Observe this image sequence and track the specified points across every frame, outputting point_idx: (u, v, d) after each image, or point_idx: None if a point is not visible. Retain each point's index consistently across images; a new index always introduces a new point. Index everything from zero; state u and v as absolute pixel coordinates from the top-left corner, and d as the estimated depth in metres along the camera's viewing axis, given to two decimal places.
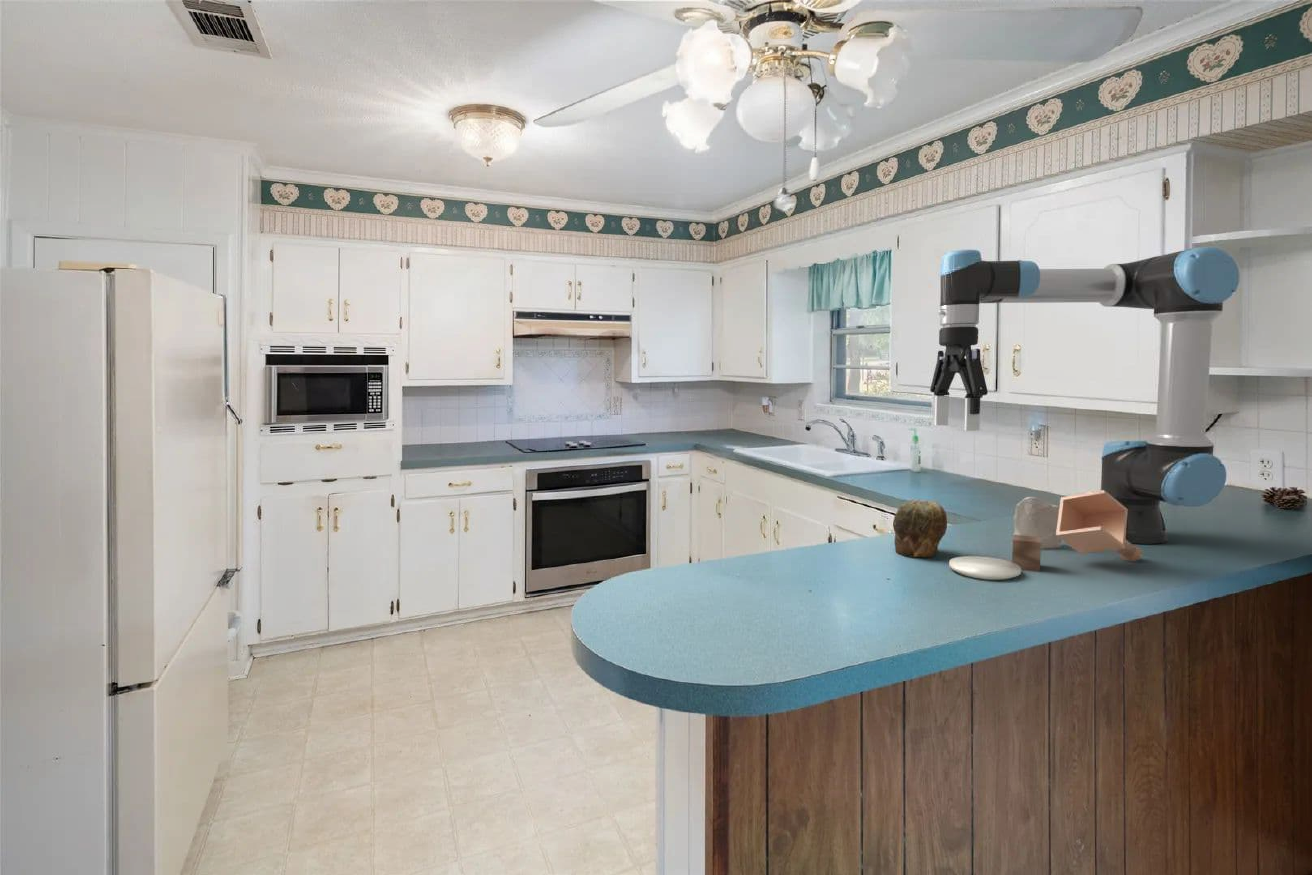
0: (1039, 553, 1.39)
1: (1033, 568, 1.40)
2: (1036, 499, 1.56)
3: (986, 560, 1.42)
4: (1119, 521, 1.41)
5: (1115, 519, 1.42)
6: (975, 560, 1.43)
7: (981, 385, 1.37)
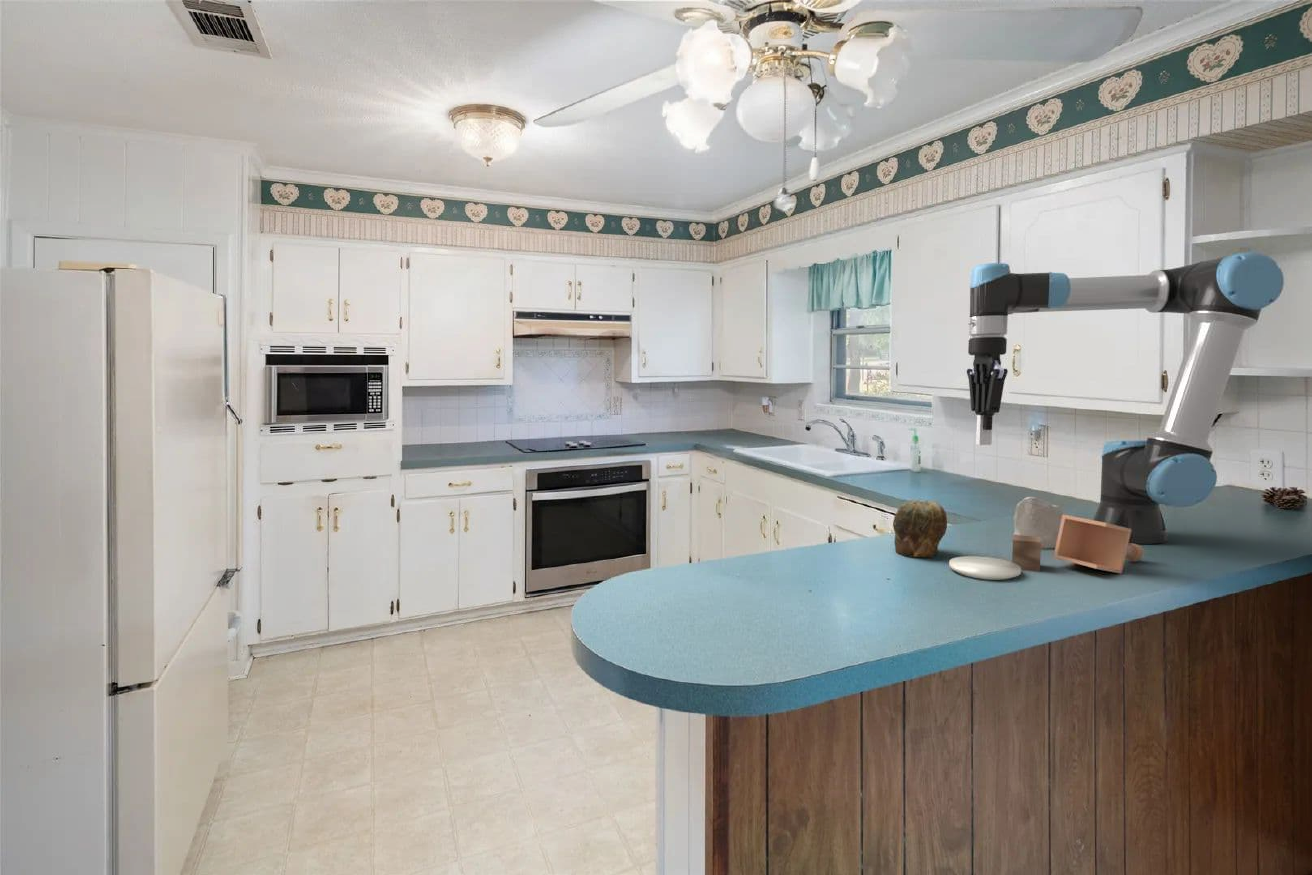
0: (1039, 553, 1.39)
1: (1033, 568, 1.40)
2: (1036, 499, 1.56)
3: (986, 560, 1.42)
4: (1120, 542, 1.38)
5: (1116, 539, 1.39)
6: (975, 560, 1.43)
7: (995, 405, 1.49)
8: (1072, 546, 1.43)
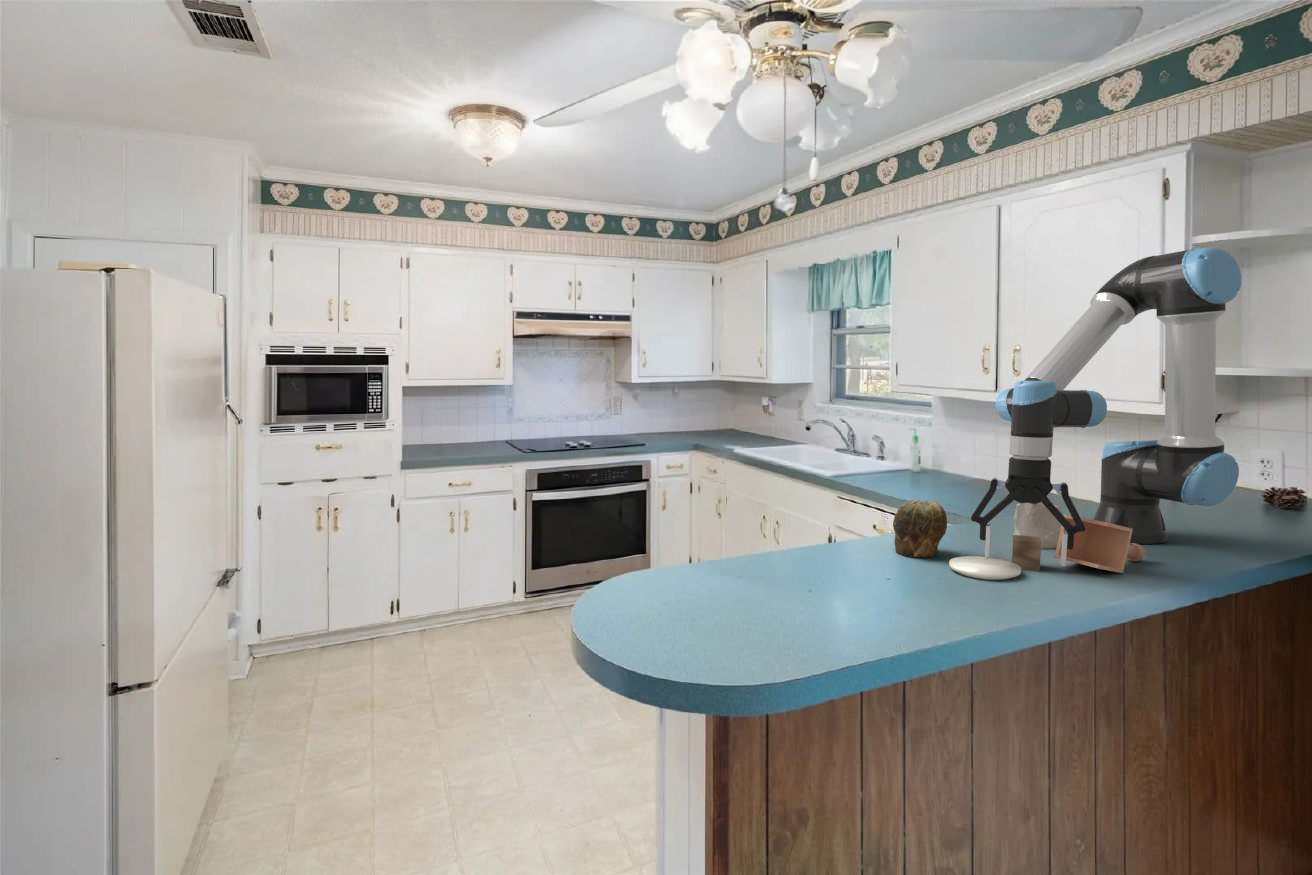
0: (1039, 553, 1.39)
1: (1033, 568, 1.40)
2: None
3: (986, 560, 1.42)
4: (1122, 542, 1.38)
5: (1118, 538, 1.39)
6: (975, 560, 1.43)
7: (974, 511, 1.45)
8: None
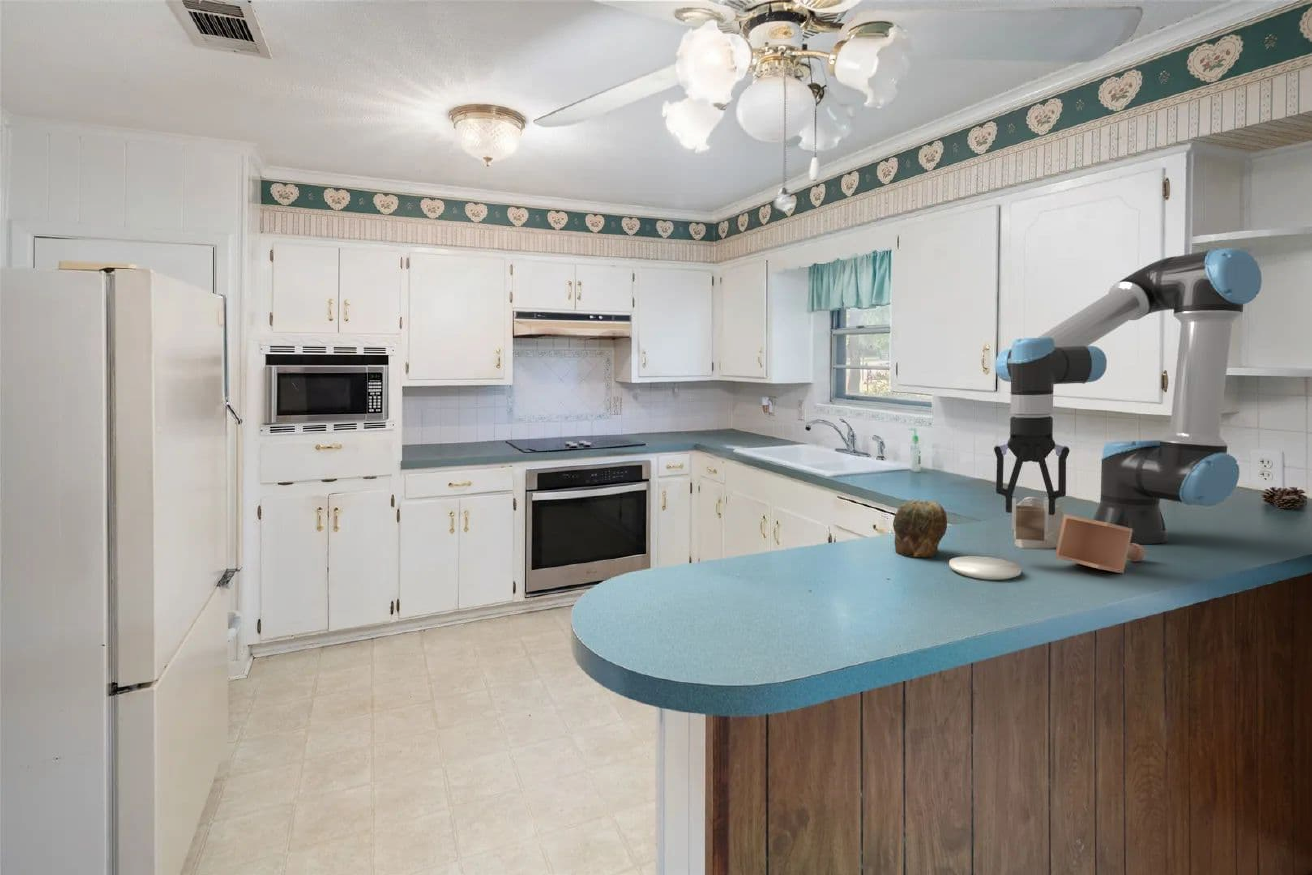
0: (1043, 522, 1.38)
1: (1037, 537, 1.39)
2: (1036, 499, 1.56)
3: (986, 560, 1.42)
4: (1122, 542, 1.38)
5: (1118, 538, 1.39)
6: (975, 560, 1.43)
7: None
8: (1074, 546, 1.43)
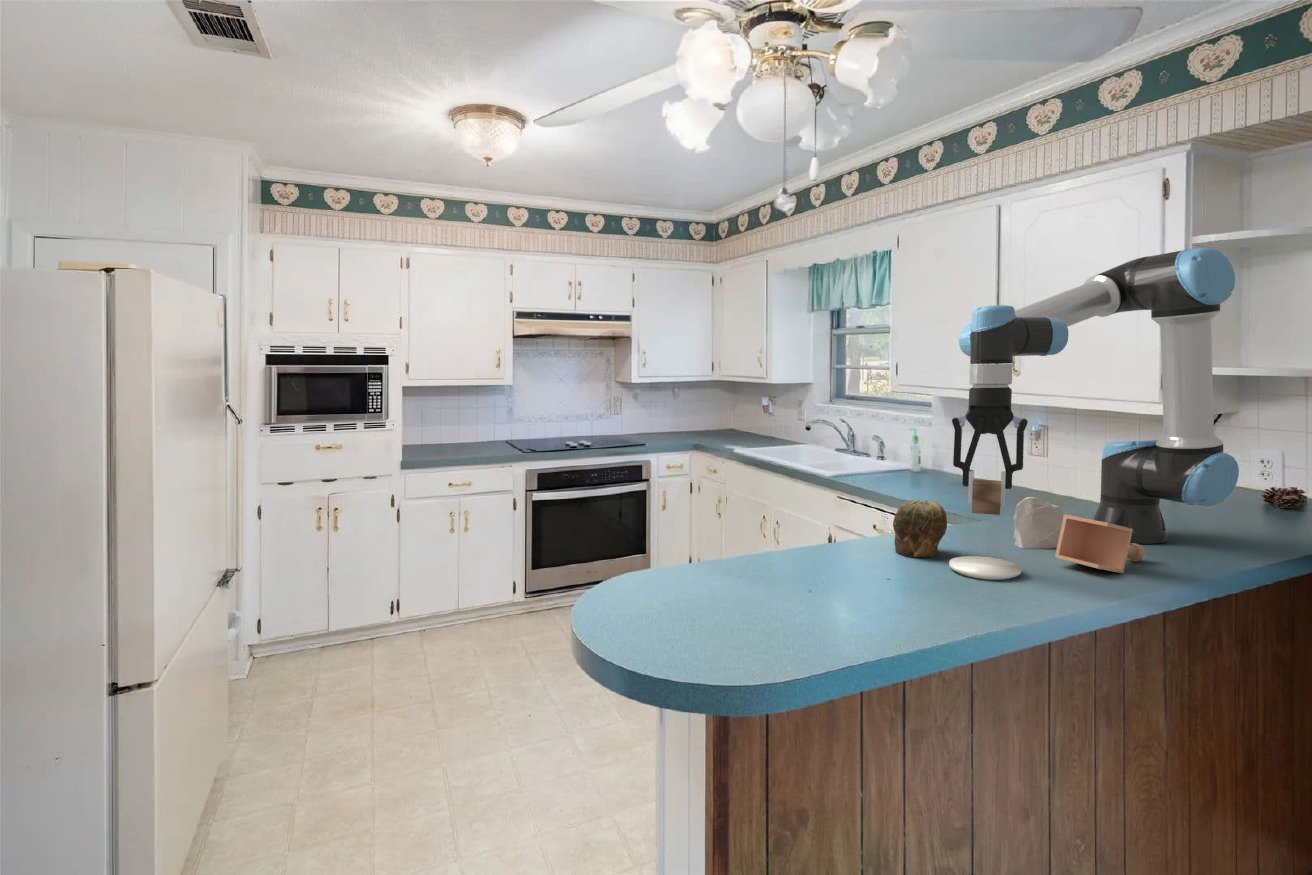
0: (999, 495, 1.35)
1: (993, 511, 1.35)
2: (1036, 499, 1.56)
3: (986, 560, 1.42)
4: (1122, 542, 1.38)
5: (1118, 538, 1.39)
6: (975, 560, 1.43)
7: None
8: (1074, 546, 1.43)
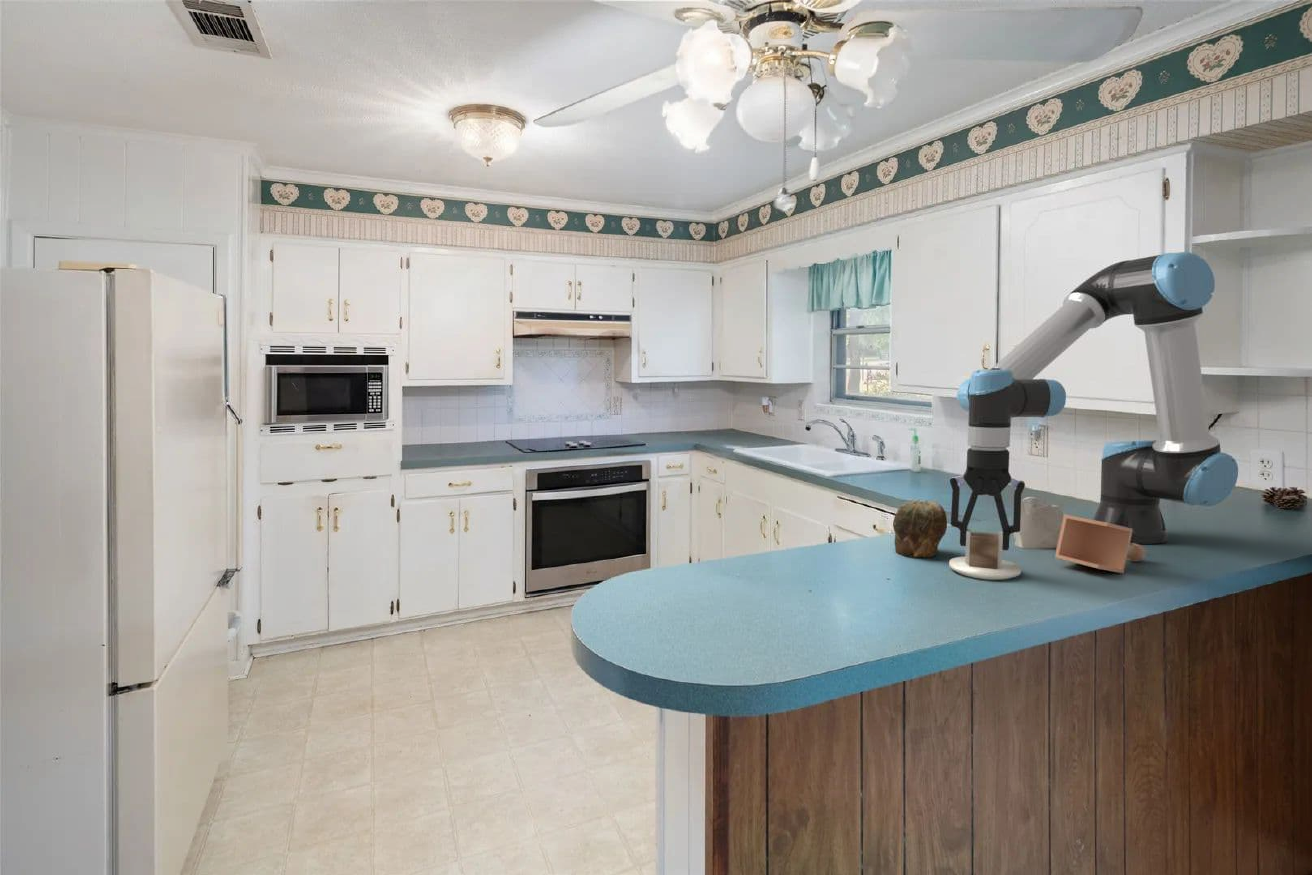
0: (996, 550, 1.36)
1: (990, 565, 1.37)
2: (1036, 499, 1.56)
3: None
4: (1122, 542, 1.38)
5: (1118, 538, 1.39)
6: None
7: None
8: (1074, 546, 1.43)
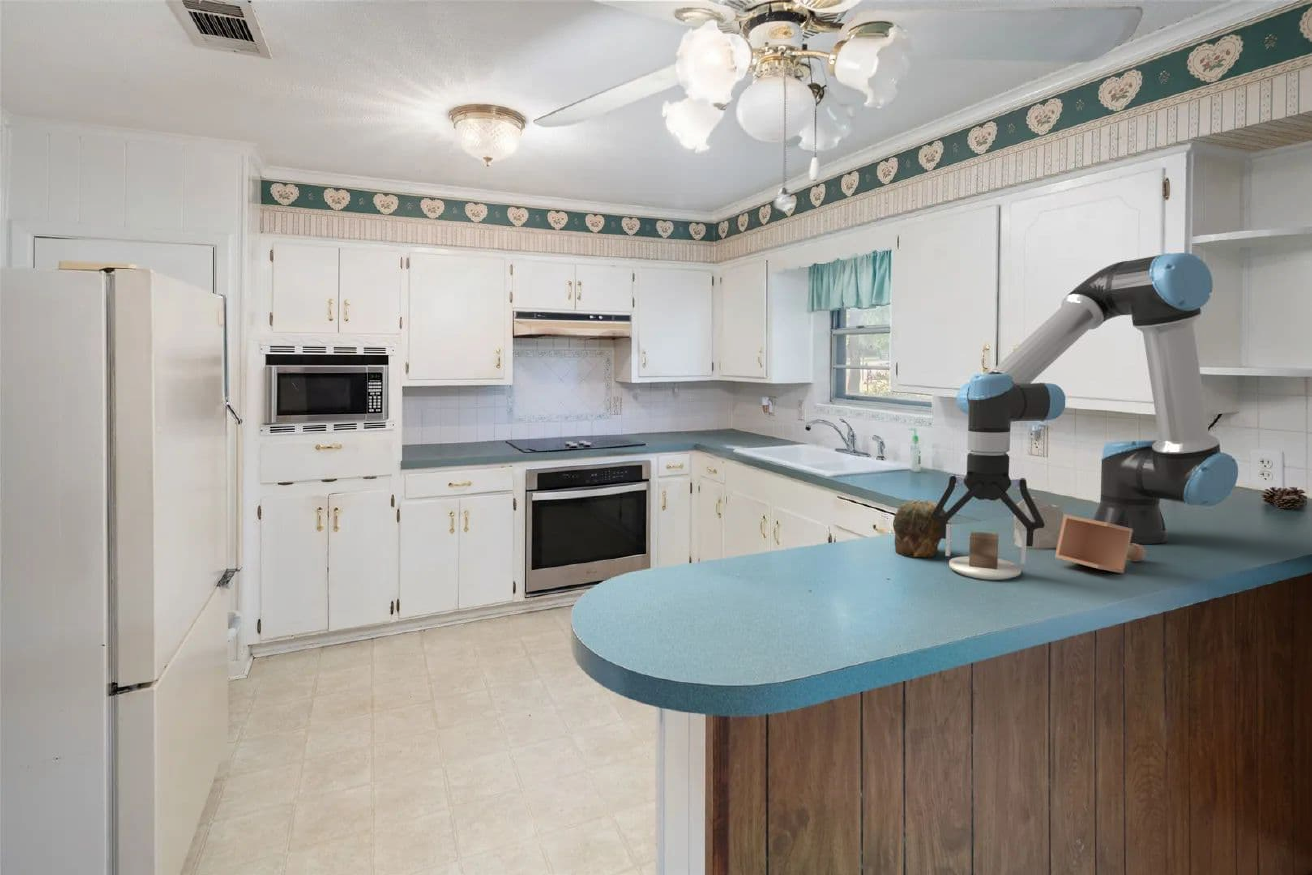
0: (996, 550, 1.36)
1: (990, 565, 1.37)
2: (1036, 499, 1.56)
3: None
4: (1122, 542, 1.38)
5: (1118, 538, 1.39)
6: None
7: None
8: (1074, 546, 1.43)
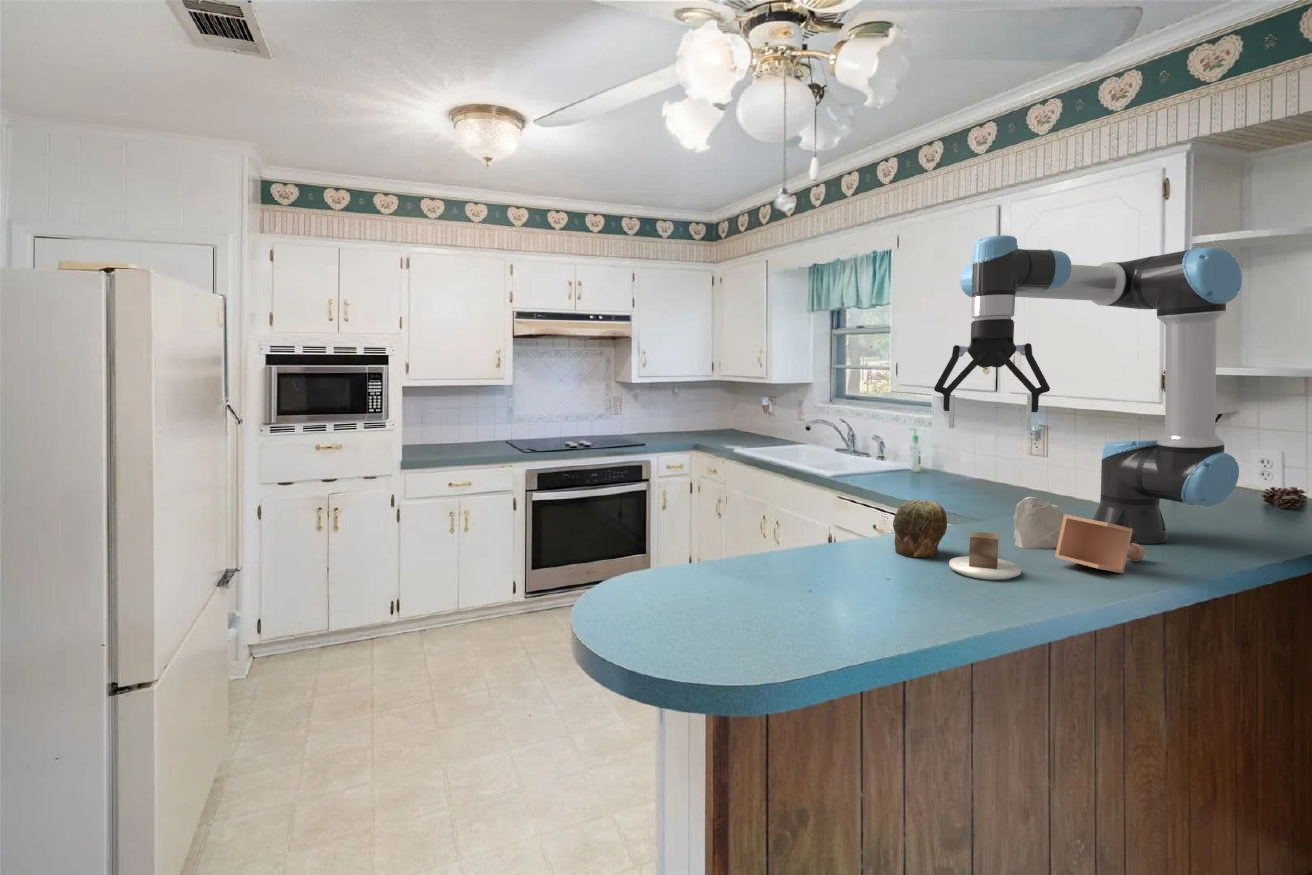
0: (996, 550, 1.36)
1: (990, 565, 1.37)
2: (1036, 499, 1.56)
3: None
4: (1122, 542, 1.38)
5: (1118, 538, 1.39)
6: None
7: None
8: (1074, 546, 1.43)
